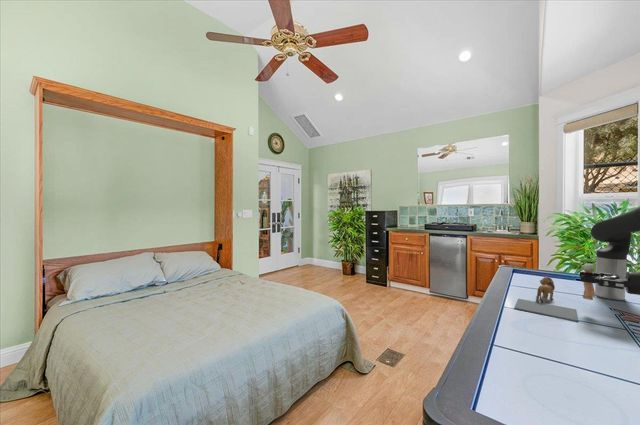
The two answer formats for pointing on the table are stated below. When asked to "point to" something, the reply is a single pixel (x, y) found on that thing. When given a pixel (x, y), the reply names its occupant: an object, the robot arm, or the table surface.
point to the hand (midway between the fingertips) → (580, 276)
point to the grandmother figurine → (588, 287)
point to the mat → (547, 309)
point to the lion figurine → (545, 289)
